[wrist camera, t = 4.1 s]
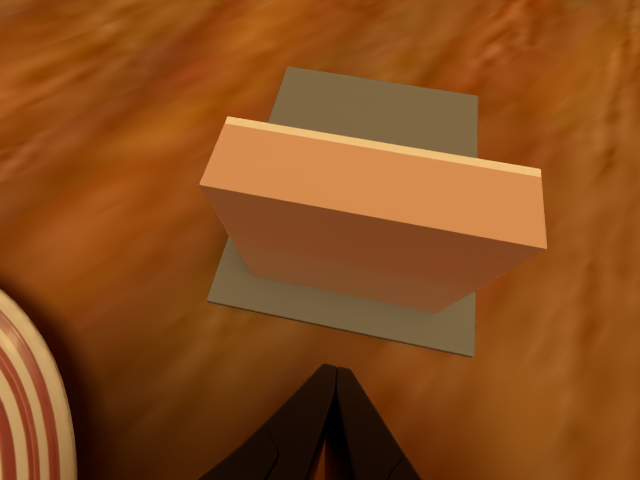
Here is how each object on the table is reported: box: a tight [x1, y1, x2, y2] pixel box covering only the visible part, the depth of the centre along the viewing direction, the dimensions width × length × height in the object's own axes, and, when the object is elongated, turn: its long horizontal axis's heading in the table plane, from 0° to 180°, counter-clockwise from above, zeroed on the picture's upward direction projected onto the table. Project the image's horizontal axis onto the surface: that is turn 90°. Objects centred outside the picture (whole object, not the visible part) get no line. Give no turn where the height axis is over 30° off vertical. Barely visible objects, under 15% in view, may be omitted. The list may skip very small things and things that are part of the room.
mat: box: [207, 66, 478, 357], centre depth 21 cm, size 18×14×1 cm
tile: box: [199, 117, 547, 314], centre depth 14 cm, size 3×10×9 cm, turn 78°
